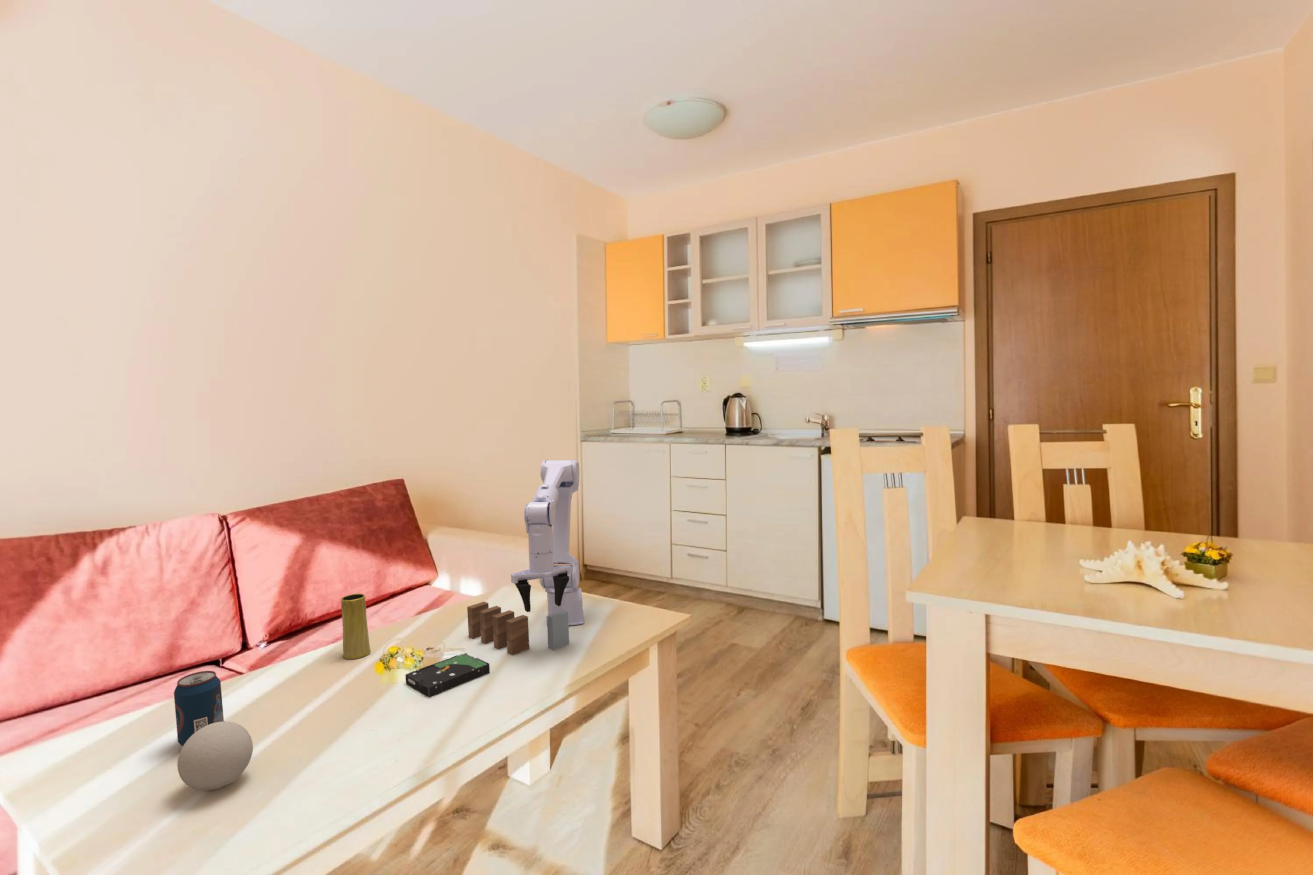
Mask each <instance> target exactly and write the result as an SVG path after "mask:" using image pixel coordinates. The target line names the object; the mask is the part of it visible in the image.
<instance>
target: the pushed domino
mask: <svg viewBox="0 0 1313 875" xmlns="http://www.w3.org/2000/svg"><path fill="white" fill-rule="evenodd" d="M488 608H490V606H489V602H486V601H481V602H478V603H475V604H472V605H468V606H467V607H466V609H467V613H466V614H467V628H468V632H467V633H468V638H470V639H472V640H474V639H477V638H481V631H480V611H482V610H485V609H488Z"/></svg>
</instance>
